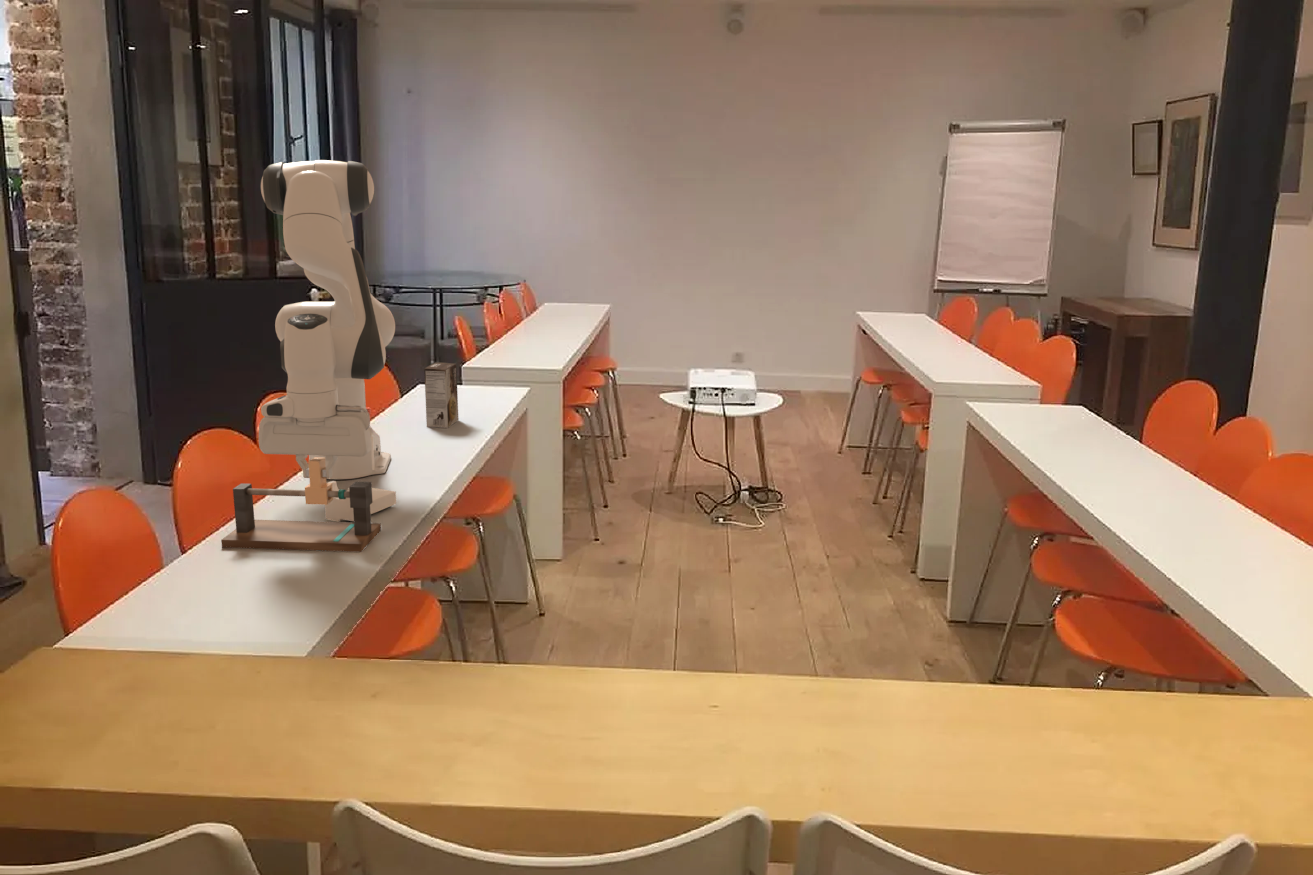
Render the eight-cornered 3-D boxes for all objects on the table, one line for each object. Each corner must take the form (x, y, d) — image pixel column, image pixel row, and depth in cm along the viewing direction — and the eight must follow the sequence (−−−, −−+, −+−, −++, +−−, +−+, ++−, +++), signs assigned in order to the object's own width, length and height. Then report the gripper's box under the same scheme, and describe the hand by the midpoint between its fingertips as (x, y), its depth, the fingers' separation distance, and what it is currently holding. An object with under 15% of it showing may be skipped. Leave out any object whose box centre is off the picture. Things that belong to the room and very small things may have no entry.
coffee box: (436, 419, 305) (434, 361, 301) (459, 420, 304) (457, 362, 300) (425, 427, 296) (423, 367, 293) (448, 428, 296) (446, 368, 292)
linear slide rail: (249, 526, 214) (245, 472, 211) (381, 530, 212) (378, 475, 210) (221, 547, 202) (216, 490, 200) (361, 551, 201) (357, 494, 198)
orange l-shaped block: (312, 499, 207) (309, 456, 205) (333, 499, 207) (330, 457, 205) (305, 504, 204) (302, 461, 202) (327, 504, 204) (324, 461, 202)
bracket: (353, 525, 216) (351, 488, 214) (325, 520, 219) (323, 484, 217) (396, 508, 228) (394, 472, 226) (369, 503, 231) (367, 468, 229)
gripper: (374, 402, 203) (378, 474, 207) (266, 399, 205) (271, 471, 208) (363, 409, 197) (367, 483, 201) (252, 406, 199) (257, 480, 202)
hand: (318, 477), depth 204 cm, fingers closed on orange l-shaped block, 2 cm apart
